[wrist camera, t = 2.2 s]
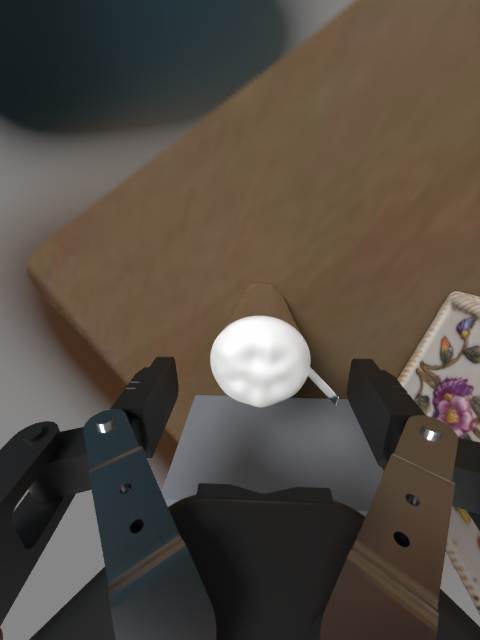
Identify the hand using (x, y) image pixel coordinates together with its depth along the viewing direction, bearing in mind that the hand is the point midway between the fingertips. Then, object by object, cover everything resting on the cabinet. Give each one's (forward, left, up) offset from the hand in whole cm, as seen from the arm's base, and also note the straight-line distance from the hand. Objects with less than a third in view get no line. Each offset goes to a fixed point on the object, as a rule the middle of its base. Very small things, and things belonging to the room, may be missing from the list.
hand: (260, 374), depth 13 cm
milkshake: (0, 0, -8) cm, 8 cm away
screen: (-1, +9, -8) cm, 12 cm away
